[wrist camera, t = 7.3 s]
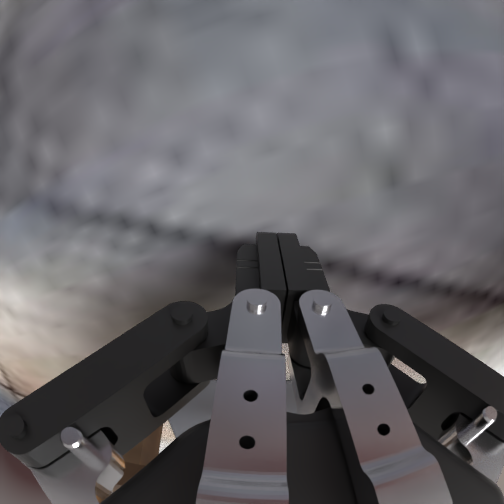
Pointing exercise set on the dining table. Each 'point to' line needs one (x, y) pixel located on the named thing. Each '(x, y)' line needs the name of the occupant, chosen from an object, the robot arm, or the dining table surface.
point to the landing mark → (203, 405)
